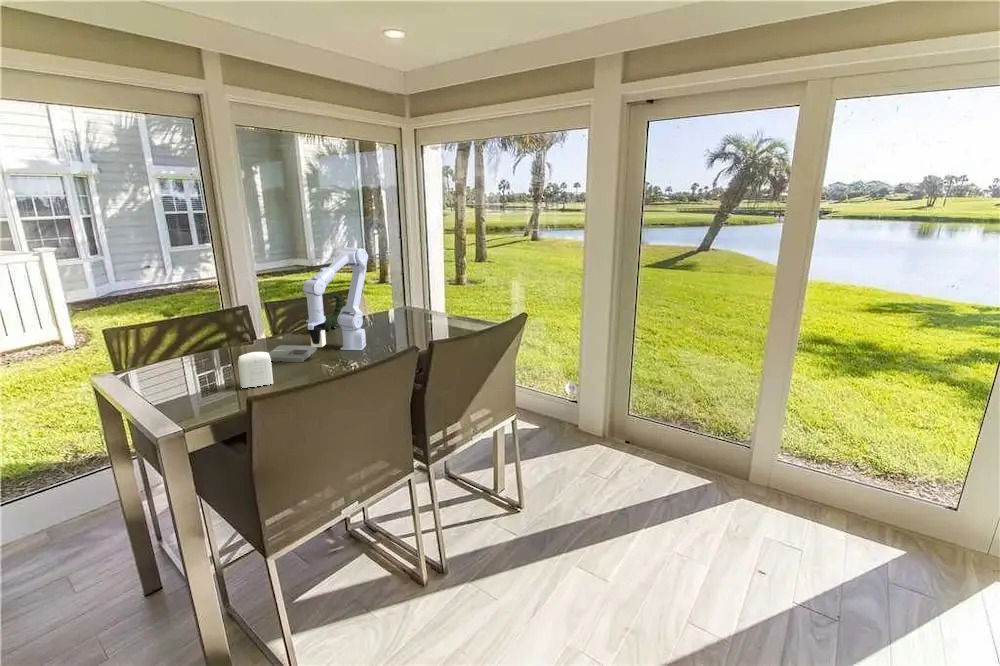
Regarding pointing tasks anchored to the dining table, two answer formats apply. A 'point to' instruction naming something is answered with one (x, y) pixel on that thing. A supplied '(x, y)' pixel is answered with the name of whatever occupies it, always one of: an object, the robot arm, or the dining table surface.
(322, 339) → the block
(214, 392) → the dining table surface
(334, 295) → the toy figurine
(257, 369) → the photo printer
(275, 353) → the socket plate
